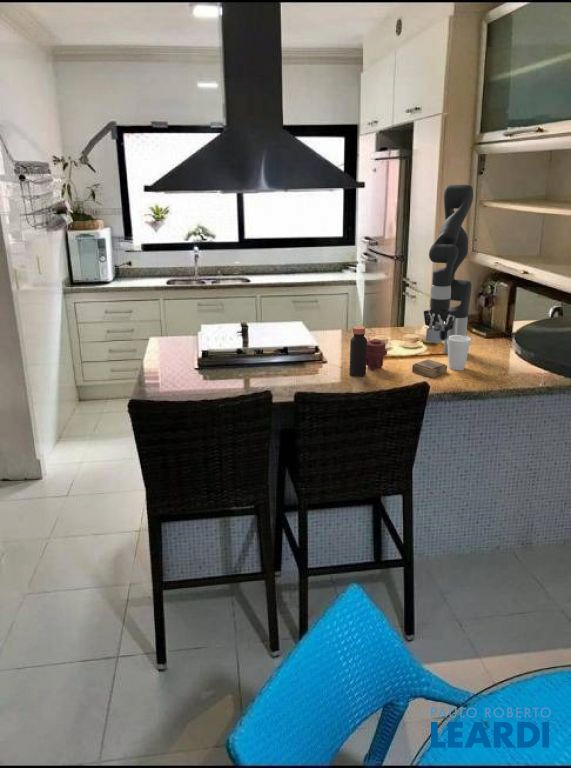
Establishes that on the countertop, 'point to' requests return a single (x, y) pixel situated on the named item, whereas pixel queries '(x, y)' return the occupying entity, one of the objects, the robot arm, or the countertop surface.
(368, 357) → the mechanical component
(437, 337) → the housing
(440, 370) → the stand
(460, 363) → the foam cup
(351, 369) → the bottle
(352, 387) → the countertop surface
